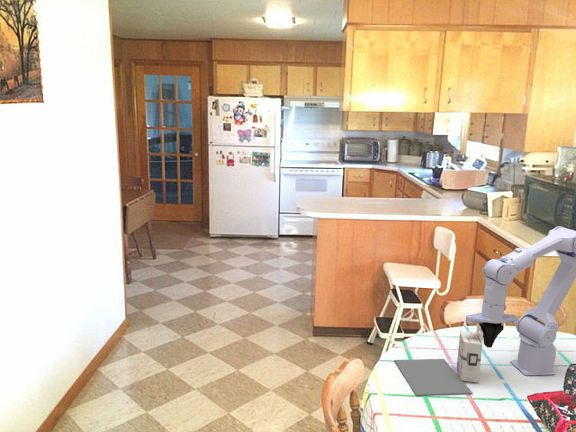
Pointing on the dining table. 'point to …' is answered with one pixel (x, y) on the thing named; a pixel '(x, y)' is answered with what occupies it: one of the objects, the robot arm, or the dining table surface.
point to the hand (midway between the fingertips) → (487, 345)
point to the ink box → (470, 354)
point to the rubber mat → (432, 377)
